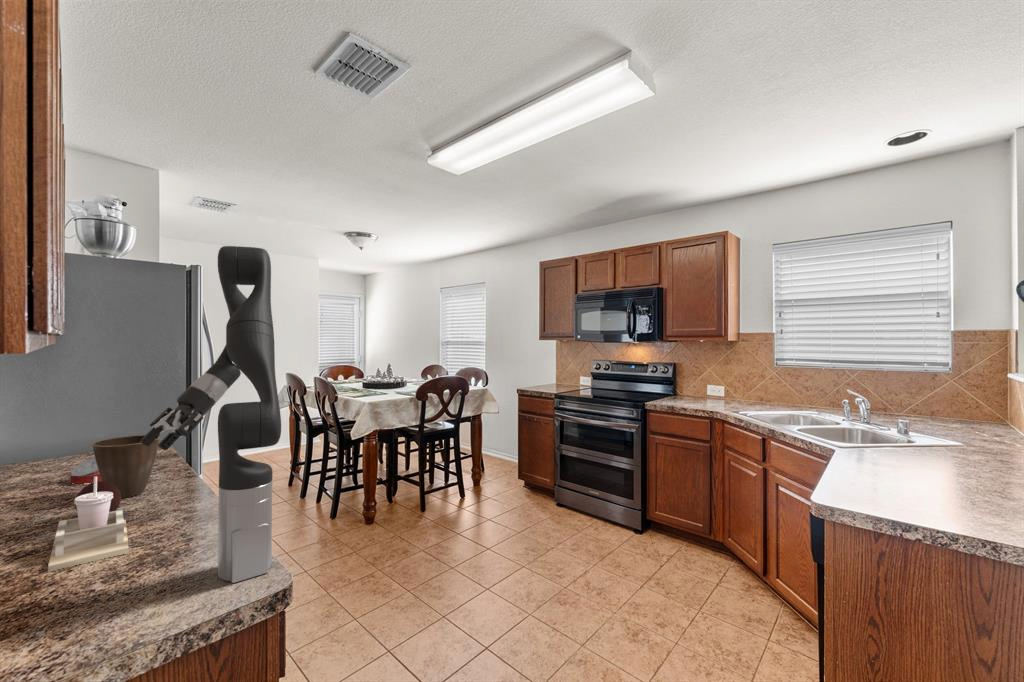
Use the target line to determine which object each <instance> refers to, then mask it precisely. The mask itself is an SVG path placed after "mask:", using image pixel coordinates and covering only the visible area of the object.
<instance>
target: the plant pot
mask: <svg viewBox="0 0 1024 682" xmlns="http://www.w3.org/2000/svg"><path fill="white" fill-rule="evenodd" d="M145 435H146V434H145ZM145 435H144V434H143V435H129V436H128V435H127V436H121V437H113V438H108V439H103V440H99V441H96V442H93V443H92V448H93V453H94V454H93V455H94V456H95V459H96V463H97V467H98V470H99V473H100V476H101V478H102V481H106V482H110V483H112V484H114V485H115V486H116V487H118V489H119V491H120V493H121V499H126V498H125V497H128V498H132V497H131V496H133V497H136V496H139V495H142V494H143V493H144V492H145V490H146V487H147V485H148V482H149V480H150V478H151V475H152V471H153V468H154V466H155V463H156V462H155V461H156V459H157V453H158V449H159V446H158V444H159V443H160V438H161V437H160V435H159V436H158V437H157V438H156V439H155V440H154V441H153V442H152V443H151V444H150V445H149V446H145V445H144V444H142V443H141V442H140V440H141V439H142V438H143V437H144V436H145ZM135 495H136V496H135Z"/></svg>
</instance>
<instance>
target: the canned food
mask: <svg viewBox="0 0 1024 682" xmlns="http://www.w3.org/2000/svg"><path fill="white" fill-rule="evenodd" d="M69 476H70V478H69V480H70V482H69V483H74V484H84V483H92V482H94V477H95V476H97V481H102V478H101V476H100V473H99V470H98V467H97V463H96V459H95V455H94V456H91V457H89V458H88V459H86V460H83V462H81V463H79V464H78V465H77V466H75V467H74V468H73V469H72V470H71V473H70V475H69Z"/></svg>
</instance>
